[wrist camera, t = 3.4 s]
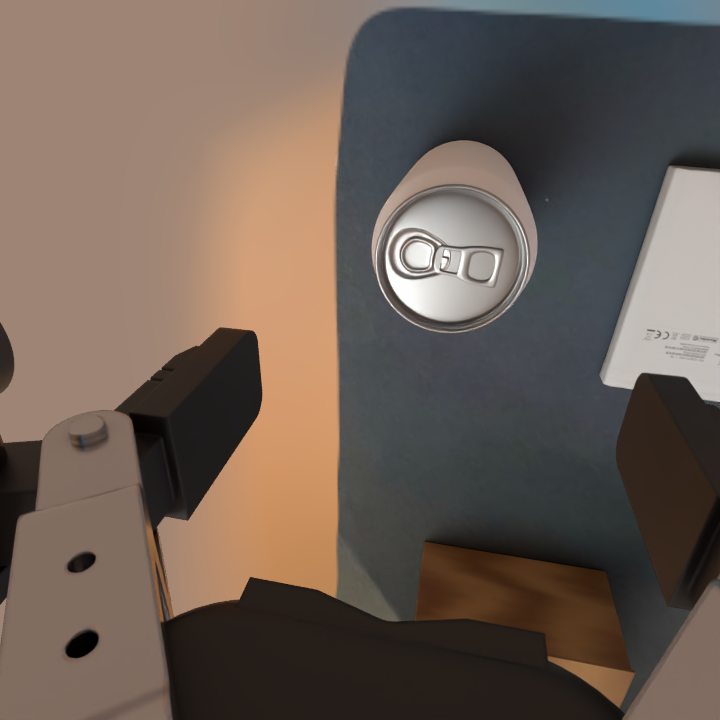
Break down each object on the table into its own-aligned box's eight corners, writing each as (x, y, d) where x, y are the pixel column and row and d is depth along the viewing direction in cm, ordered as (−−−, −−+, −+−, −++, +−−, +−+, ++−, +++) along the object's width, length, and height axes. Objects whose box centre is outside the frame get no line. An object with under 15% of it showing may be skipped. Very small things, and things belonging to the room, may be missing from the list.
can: (412, 131, 28) (373, 157, 18) (532, 147, 27) (567, 185, 17) (395, 247, 31) (354, 327, 21) (503, 264, 30) (517, 357, 20)
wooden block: (413, 634, 48) (402, 727, 41) (422, 539, 42) (412, 629, 35) (574, 665, 45) (591, 770, 38) (607, 570, 40) (635, 673, 33)
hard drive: (844, 179, 25) (739, 393, 31) (666, 163, 26) (597, 373, 32) (866, 184, 24) (752, 408, 30) (676, 168, 25) (603, 386, 31)
